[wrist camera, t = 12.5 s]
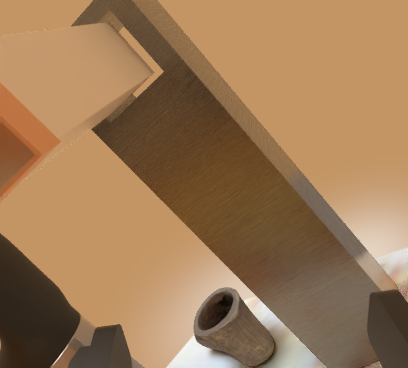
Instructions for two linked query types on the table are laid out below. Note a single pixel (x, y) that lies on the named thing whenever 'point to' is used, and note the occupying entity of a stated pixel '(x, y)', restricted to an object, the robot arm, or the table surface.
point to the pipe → (232, 328)
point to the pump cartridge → (59, 92)
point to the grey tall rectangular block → (240, 190)
